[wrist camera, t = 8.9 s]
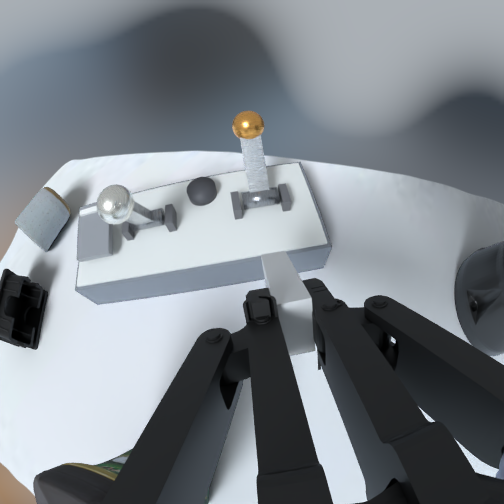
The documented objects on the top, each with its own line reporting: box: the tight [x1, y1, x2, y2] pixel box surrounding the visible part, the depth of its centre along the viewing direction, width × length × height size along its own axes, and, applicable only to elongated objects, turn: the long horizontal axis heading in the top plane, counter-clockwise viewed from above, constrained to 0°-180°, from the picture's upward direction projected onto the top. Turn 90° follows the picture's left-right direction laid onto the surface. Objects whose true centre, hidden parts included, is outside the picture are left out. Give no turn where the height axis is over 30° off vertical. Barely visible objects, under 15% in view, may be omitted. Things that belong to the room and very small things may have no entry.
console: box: [75, 162, 332, 305], centre depth 30 cm, size 12×28×7 cm, turn 99°
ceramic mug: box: [15, 187, 70, 252], centre depth 34 cm, size 11×8×8 cm
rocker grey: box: [77, 202, 113, 262], centre depth 26 cm, size 6×4×1 cm
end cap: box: [0, 269, 48, 350], centre depth 27 cm, size 10×7×7 cm
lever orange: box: [232, 111, 280, 210], centre depth 26 cm, size 3×4×10 cm
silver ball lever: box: [96, 185, 165, 232], centre depth 23 cm, size 3×4×10 cm
